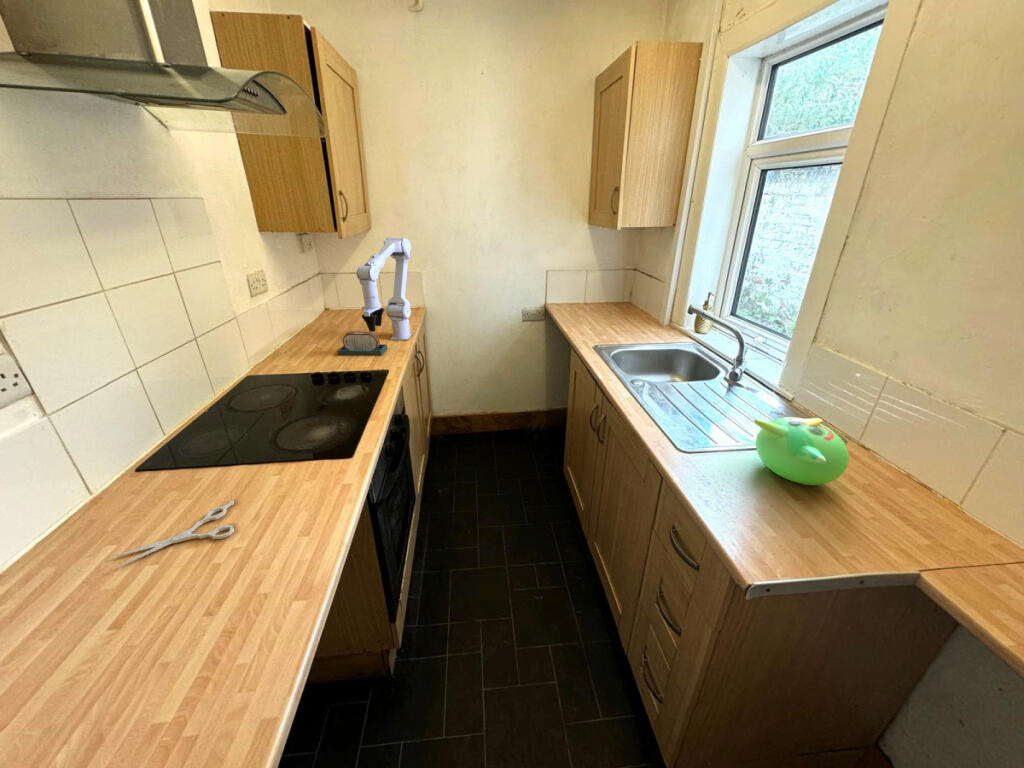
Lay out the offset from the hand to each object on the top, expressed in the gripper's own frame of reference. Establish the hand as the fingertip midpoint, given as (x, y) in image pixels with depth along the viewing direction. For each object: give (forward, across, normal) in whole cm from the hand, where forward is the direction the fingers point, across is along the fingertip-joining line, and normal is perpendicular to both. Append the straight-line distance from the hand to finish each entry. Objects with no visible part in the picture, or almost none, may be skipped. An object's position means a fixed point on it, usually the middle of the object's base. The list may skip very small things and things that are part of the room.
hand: (375, 328), depth 174 cm
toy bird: (+10, +83, +126) cm, 151 cm away
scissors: (+9, +107, -4) cm, 108 cm away
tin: (+9, +3, -6) cm, 11 cm away
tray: (+10, +2, -6) cm, 12 cm away
